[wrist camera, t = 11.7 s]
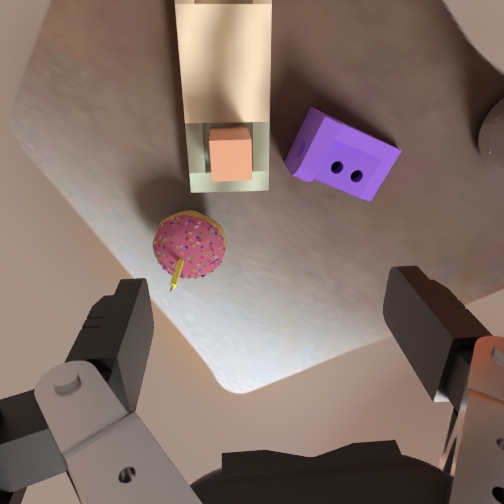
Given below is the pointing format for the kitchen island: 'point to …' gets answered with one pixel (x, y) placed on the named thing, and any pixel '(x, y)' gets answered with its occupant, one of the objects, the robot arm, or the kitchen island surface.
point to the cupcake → (189, 245)
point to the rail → (225, 82)
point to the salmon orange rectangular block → (230, 153)
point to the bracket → (340, 155)
